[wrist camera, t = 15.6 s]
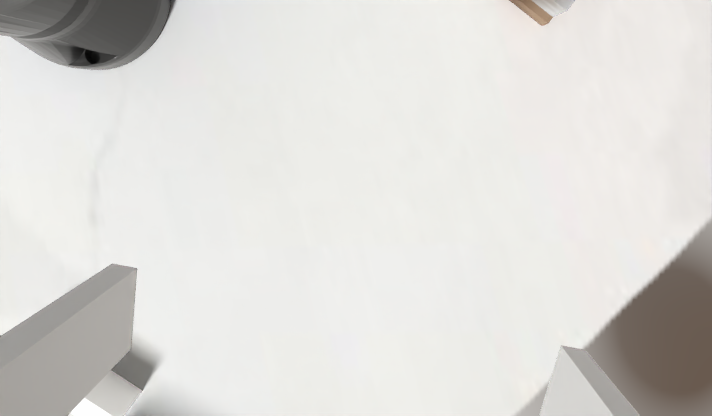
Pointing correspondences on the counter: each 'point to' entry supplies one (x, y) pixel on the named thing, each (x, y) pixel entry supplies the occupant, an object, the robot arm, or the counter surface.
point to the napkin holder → (108, 397)
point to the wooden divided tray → (543, 8)
